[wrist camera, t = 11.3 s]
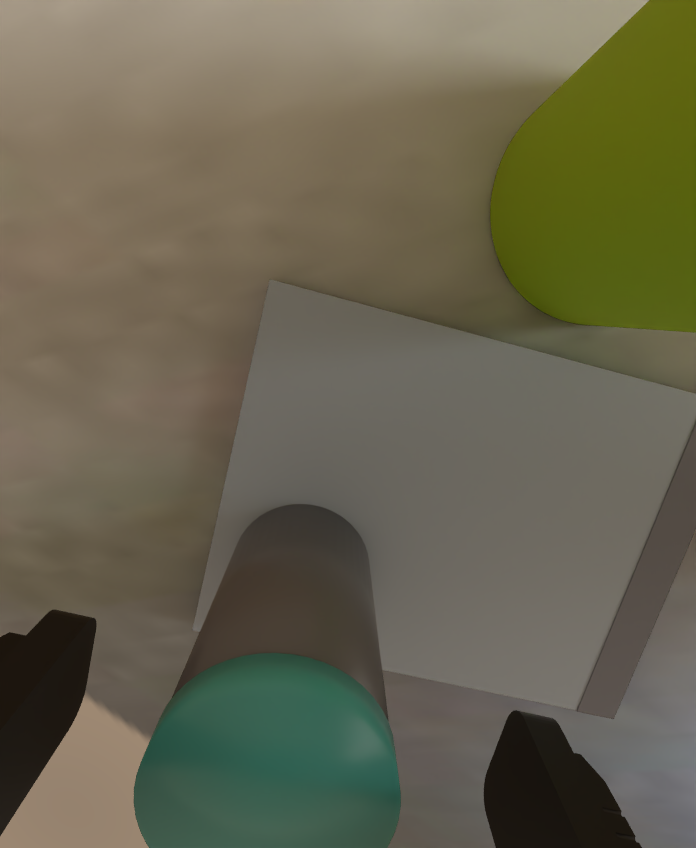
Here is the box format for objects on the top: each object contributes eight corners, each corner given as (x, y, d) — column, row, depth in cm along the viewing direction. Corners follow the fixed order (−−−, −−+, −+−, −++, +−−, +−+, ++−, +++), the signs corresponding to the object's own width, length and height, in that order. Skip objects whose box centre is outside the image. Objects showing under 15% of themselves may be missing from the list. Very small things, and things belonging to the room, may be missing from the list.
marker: (389, 524, 14) (437, 729, 7) (347, 644, 15) (355, 927, 8) (250, 485, 14) (166, 661, 7) (216, 610, 15) (109, 877, 8)
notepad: (730, 403, 14) (748, 407, 14) (603, 703, 16) (613, 719, 16) (272, 280, 13) (269, 279, 13) (197, 617, 15) (191, 631, 15)
